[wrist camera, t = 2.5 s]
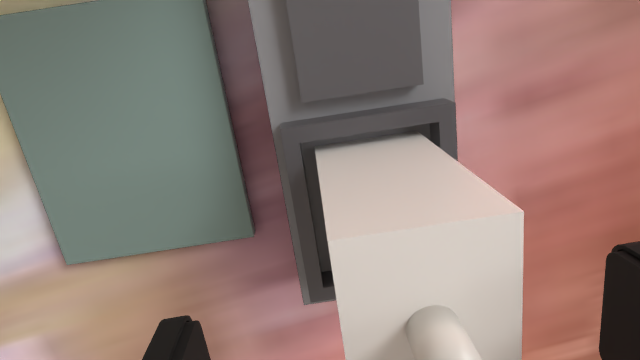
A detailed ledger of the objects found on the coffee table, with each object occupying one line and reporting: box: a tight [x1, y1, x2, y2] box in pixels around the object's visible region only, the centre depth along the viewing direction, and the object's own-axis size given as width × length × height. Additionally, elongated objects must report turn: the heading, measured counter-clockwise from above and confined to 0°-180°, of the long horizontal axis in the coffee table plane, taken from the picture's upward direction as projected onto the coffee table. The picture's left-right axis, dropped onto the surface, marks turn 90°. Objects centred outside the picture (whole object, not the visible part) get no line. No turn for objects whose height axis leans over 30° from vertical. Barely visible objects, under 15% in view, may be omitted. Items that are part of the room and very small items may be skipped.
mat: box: [0, 0, 255, 265], centre depth 18 cm, size 9×11×1 cm
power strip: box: [248, 0, 458, 305], centre depth 16 cm, size 7×16×4 cm, turn 8°
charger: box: [314, 131, 524, 360], centre depth 12 cm, size 4×5×10 cm
